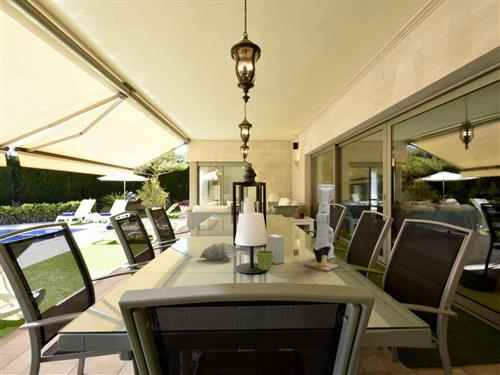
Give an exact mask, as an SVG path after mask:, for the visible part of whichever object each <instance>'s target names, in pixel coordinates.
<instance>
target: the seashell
mask: <svg viewBox="0 0 500 375" xmlns="http://www.w3.org/2000/svg"><path fill="white" fill-rule="evenodd" d="M236 253H237V252H236V248H235V247H234V245H233V244H232V243H229V242H222V243H213V244H212V245H211V246H208V247H207V248H204V249H203V251H202V252H201V254H200V256H199V258H200V259H204V260H206V261H208V262H209V261H215V260H217V261H223V260H224V261H225V260H227V261H228V260H230V261H231V260H232V259H234V258H235V257H236V256H237V254H236Z"/></svg>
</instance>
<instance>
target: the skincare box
mask: <svg viewBox="0 0 500 375" xmlns="http://www.w3.org/2000/svg"><path fill="white" fill-rule="evenodd" d="M266 237H267V239H266V240H267V243H266V244H267V250H269V251H273V252H274V254H273V257H272V262H271V264H275V265H278V264H280V265H281V264H284V263H285V242H284V241H285V238H284V235H279V234H267V236H266Z"/></svg>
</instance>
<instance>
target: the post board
mask: <svg viewBox="0 0 500 375" xmlns="http://www.w3.org/2000/svg"><path fill="white" fill-rule="evenodd" d="M340 266H341V265H339V264H335V263H331V262H327V265H326V266H317V265H316V259H315V260H312V261H309V262H306V263H303V267H307V268H310V269H315V270H318V271H322V272H326V273H329V272H331V271H333V270H336V269H339V268H340Z"/></svg>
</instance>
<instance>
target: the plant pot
mask: <svg viewBox="0 0 500 375" xmlns="http://www.w3.org/2000/svg"><path fill="white" fill-rule="evenodd" d="M254 253H255V255H256V258H257V269H258V268H260V269H265V271H270V270H271V267H272V257H273V254H274V252H273V251H269V250H268V249H266V250H265V249H261V250H256V251H255V252H254Z"/></svg>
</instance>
